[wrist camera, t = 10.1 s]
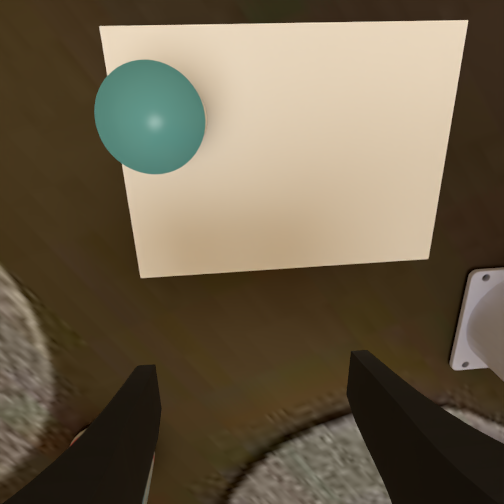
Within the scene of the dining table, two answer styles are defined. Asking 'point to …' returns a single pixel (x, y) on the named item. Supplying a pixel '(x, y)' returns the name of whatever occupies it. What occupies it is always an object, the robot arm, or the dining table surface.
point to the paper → (297, 143)
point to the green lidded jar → (150, 116)
